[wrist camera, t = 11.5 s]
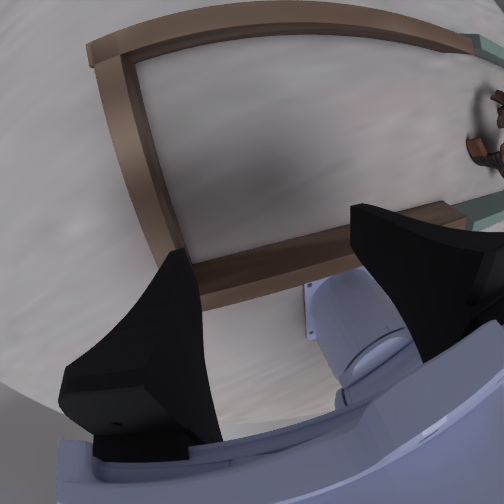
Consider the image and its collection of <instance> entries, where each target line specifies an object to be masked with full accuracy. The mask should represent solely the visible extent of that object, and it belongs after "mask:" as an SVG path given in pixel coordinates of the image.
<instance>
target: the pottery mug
mask: <svg viewBox="0 0 504 504" xmlns="http://www.w3.org/2000/svg"><path fill="white" fill-rule="evenodd" d="M490 99H491V100H494V101H496V102H498V103H500V104H501V105H502V106H501V107H500V108H499V109H498V113H499V114H500V116H499V117H498V119H497V125H498V128H504V92H502V91H500V90H496V94H494V95H492V96H491V97H490ZM466 144H467V147H468V149H469V152H470V154H471V155H472V157H473V159H474V161H475V162H476V163H477V164H478V165H479V166H487V167H491V168H496V169H497V170H498V171H499V172H500V174H501V175H502V177H503V178H504V143H503V144H502V145H501V146H500V151H497V152H495V153H488V152H487V150H486V149H485V147H484V145H483V143H482V140H481V138H475V139H473V140H466Z"/></svg>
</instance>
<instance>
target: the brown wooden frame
mask: <svg viewBox="0 0 504 504" xmlns="http://www.w3.org/2000/svg"><path fill="white" fill-rule="evenodd" d="M299 34H318V35H342V36H355V37H365V38H373V39H381V40H387V41H393V42H399V43H404V44H409V45H414V46H419V47H423V48H427V49H431V50H435V51H439V52H442V53H459V54H471V55H474V52H473V46H472V40H471V39H469V38H467V37H465V36H462V35H460V34H457V33H455V32H453V31H450V30H447V29H445V28H442V27H439V26H436V25H434V24H431V23H428V22H424V21H421V20H418V19H415V18H411V17H407V16H404V15H400V14H396V13H392V12H387V11H383V10H378V9H373V8H367V7H361V6H355V5H348V4H340V3H330V2H318V1H294V0H278V1H254V2H242V3H232V4H224V5H217V6H210V7H204V8H198V9H193V10H188V11H184V12H179V13H175V14H171V15H167V16H163V17H159V18H156V19H152V20H149V21H145V22H142V23H139V24H136V25H133V26H130V27H127V28H124V29H122V30H119V31H116V32H114V33H111V34H109V35H106V36H104V37H101V38H99V39H97V40H94V41H92V42H90V43H88V44H86V50H87V56H88V61H89V66H90V67H91V68H94V69H95V74H96V79H97V83H98V88H99V92H100V96H101V101H102V105H103V109H104V113H105V116H106V120H107V124H108V128H109V131H110V135H111V138H112V142H113V145H114V149H115V152H116V155H117V158H118V162H119V165H120V168H121V171H122V174H123V177H124V180H125V183H126V186H127V189H128V192H129V195H130V197H131V200H132V203H133V206H134V208H135V211H136V214H137V217H138V219H139V222H140V224H141V227H142V230H143V232H144V235H145V237H146V240H147V242H148V245H149V247H150V249H151V252H152V254H153V257H154V259H155V261H156V264H157V266H158V268H159V269H160V267H161V265H162V264H163V262H164V260H165V259H166V257H167V255H168V254H169V252H170V251H173V250H177V249H180V248H185V251H186V254H187V256H188V259H189V262H190V265H191V267H192V270H193V273H194V276H195V278H196V281H197V284H198V286H199V292H200V298H201V305H202V312H203V311H207V310H211V309H215V308H219V307H223V306H227V305H231V304H235V303H239V302H242V301H246V300H250V299H254V298H257V297H261V296H265V295H268V294H272V293H275V292H279V291H282V290H286V289H289V288H293V287H296V286H300V285H303V284H307V283H310V282H313V281H317V280H320V279H323V278H326V277H330V276H333V275H336V274H339V273H343V272H346V271H349V270H352V269H355V268H358V267H361V266H363V265H362V264H361V262H360V261H359V259H358V258H357V256H356V255H355V253H354V251H353V250H352V248H351V246H350V224H349V225H345V226H341V227H337V228H333V229H329V230H325V231H322V232H318V233H314V234H310V235H306V236H302V237H298V238H295V239H291V240H287V241H283V242H279V243H275V244H271V245H268V246H264V247H260V248H256V249H252V250H248V251H245V252H241V253H237V254H233V255H229V256H225V257H222V258H218V259H214V260H210V261H206V262H202V263H199V264H195V265H192V263H191V260H190V257H189V255H188V252H187V249H186V246H185V243H184V240H183V237H182V234H181V231H180V228H179V225H178V222H177V219H176V216H175V213H174V210H173V207H172V204H171V200H170V197H169V194H168V191H167V187H166V184H165V181H164V177H163V174H162V171H161V167H160V164H159V160H158V157H157V153H156V150H155V146H154V142H153V139H152V135H151V131H150V127H149V123H148V119H147V115H146V111H145V107H144V103H143V99H142V95H141V91H140V86H139V82H138V77H137V73H136V68H135V63H137V62H140V61H143V60H146V59H150V58H153V57H156V56H160V55H163V54H167V53H171V52H174V51H178V50H182V49H187V48H191V47H195V46H200V45H205V44H210V43H216V42H222V41H228V40H235V39H243V38H251V37H262V36H275V35H299ZM395 213H398V214H401V215H405V216H408V217H411V218H414V219H417V220H421V221H424V222H428V223H432V224H436V225H440V226H444V227H450V228H455V229H462V230H465V226H466V221H467V216H466V215H464V214H463V213H461V212H459V211H458V210H456V209H455V208H453V207H452V206H450V205H449V204H447V203H445V202H444V201H438V202H434V203H430V204H426V205H423V206H419V207H415V208H411V209H407V210H403V211H399V212H395Z"/></svg>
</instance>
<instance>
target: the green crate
mask: <svg viewBox="0 0 504 504" xmlns="http://www.w3.org/2000/svg"><path fill="white" fill-rule="evenodd" d="M460 35H462V36H465V37H467V38H469V39H471V40H472V46H473V52H474V55H475V56H478V57H480V58H482V59H485V60H487V61H489V62H491V63H494V64H496V65H498V66H500V67H502V68H504V48H503V47H501V46H499V45H498V44H496V43H494V42H492V41H491V40H489V39H487V38H485V37H483V36H481V35H479V34H460ZM452 207H453V208H455V209H456V210H458V211H459V212H461V213H463V214H464V215H466V216H467V221H466V226H465V230H469V231H480V230H483V229H485V228H487V227H490V226H492V225H494V224H496V223H498V222H501V221H503V220H504V191H501V192H498V193H494V194H491V195H487V196H484V197H480V198H477V199H473V200H470V201H466V202H463V203H459V204H456V205H452Z"/></svg>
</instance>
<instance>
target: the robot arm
mask: <svg viewBox="0 0 504 504" xmlns="http://www.w3.org/2000/svg"><path fill="white" fill-rule="evenodd" d="M350 246H351V248H352V250H353V251H354V253H355V255H356V256H357V258H358V259H359V261H360V262H361V264H362V265H363V266H361V267H358V268H355V269H352V270H349V271H346V272H343V273H339V274H336V275H333V276H330V277H326V278H323V279H320V280H317V281H313V282H310V284H309V283H307V284H304V300H305V317H306V337H307V340H308V341H312V340H315V339H317V341H318V343H319V345H320V347H321V349H322V351H323V353H324V355H325V358H326V360H327V362H328V364H329V366H330V368H331V370H332V372H333V374H334V376H335V377H336V379H337V380H338V381H339V382H340V384H341V386H342V388H341V389H339V390H338V391H337V392H336V398H335V411H332V412H330V413H327V414H324V415H321V416H319V417H316V418H313V419H310V420H307V421H303V422H301V423H297V424H294V425H291V426H287V427H284V428H280V429H277V430H273V431H269V432H265V433H261V434H257V435H253V436H248V437H244V438H239V439H234V440H229V441H223V439H222V435H221V432H220V428H219V424H218V420H217V416H216V412H215V408H214V404H213V400H212V395H211V391H210V386H209V381H208V376H207V370H206V365H205V358H204V345H203V323H202V305H201V298H200V292H199V286H198V284H197V281H196V278H195V276H194V273H193V270H192V267H191V265H190V262H189V259H188V256H187V254H186V251H185V248H180V249H177V250H173V251H170V252H169V254H168V255H167V257H166V259H165V260H164V262H163V264H162V265H161V267H160V269H159V270H158V272H157V273H156V275H155V277H154V278H153V280H152V281H151V283H150V284H149V286H148V287H147V289H146V290H145V291H144V293H143V294H142V296H141V297H140V299H139V300H138V301H137V303H136V304H135V305H134V306H133V307H132V309H131V310H130V311H129V312H128V313H127V315H126V316H125V317H124V318H123V319H122V320H121V321H120V322H119V323H118V324H117V325H116V326H115V327H114V328H113V329H112V330H111V331H110V332H109V333H108V334H107V335H106V336H105V337H104V338H103V339H102V340H101V341H99V342H98V343H97V344H96V345H95V346H94V347H92V348H91V349H90V350H89V351H87V352H86V353H85V354H83V355H82V356H81V357H79V358H78V359H76V360H75V361H74V362H72V363H71V364H69V365H68V366H66V368H65V371H64V375H63V380H62V384H61V389H60V393H59V398H58V403H59V407H60V408H61V410H62V411H63V412H64V414H65V415H66V416H67V417H69V418H70V419H71V420H73V421H74V422H75V423H77V424H78V425H79V426H81V427H82V428H84V429H85V430H87V431H88V432H90V433H91V434H93V435H94V440H93V443H90V442H87V441H79V440H66V439H61V440H59V448H58V459H57V477H56V478H57V479H56V502H57V503H58V504H504V232H479V231H469V230H462V229H455V228H450V227H444V226H440V225H436V224H432V223H428V222H424V221H421V220H417V219H414V218H411V217H408V216H405V215H401V214H398V213H395V212H392V211H389V210H386V209H383V208H380V207H376V206H373V205H369V204H363V203H361V204H357V205H352V206H350ZM375 280H376V282H377V283H378V284H379V285H380V286H381V288H382V289H383V290H384V291H385V293H386V294H387V295H388V296H389V298H390V299H391V300H390V299H389V298H388V297H387V296H386V294H385V293H384V292H383V291H382V289H381V288H380V287H379V286H378V285H377V284H376V282H375ZM308 284H309V285H308ZM391 301H392V302H393V303H392V302H391Z"/></svg>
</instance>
